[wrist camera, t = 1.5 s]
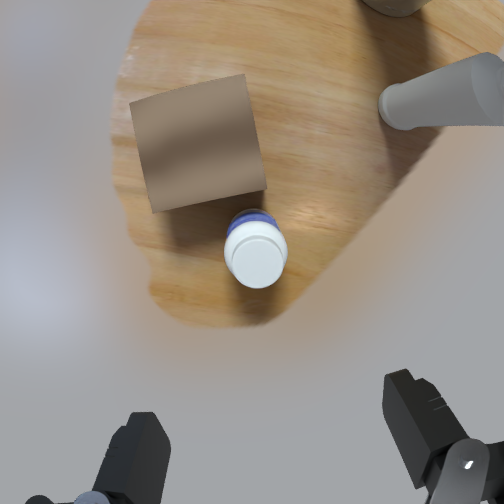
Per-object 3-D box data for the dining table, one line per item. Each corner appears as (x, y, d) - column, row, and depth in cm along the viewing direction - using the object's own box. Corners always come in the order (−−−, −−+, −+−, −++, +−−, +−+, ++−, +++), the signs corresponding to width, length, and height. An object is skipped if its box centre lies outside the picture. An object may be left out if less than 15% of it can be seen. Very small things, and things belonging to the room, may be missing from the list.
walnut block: (149, 111, 29) (129, 103, 24) (244, 88, 29) (244, 73, 23) (168, 202, 32) (152, 213, 27) (263, 182, 32) (267, 189, 26)
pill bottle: (218, 223, 33) (207, 251, 24) (264, 198, 32) (271, 216, 23) (243, 266, 35) (243, 308, 25) (288, 243, 34) (304, 277, 25)
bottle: (424, 117, 30) (616, 110, 6) (393, 139, 30) (596, 149, 7) (399, 78, 28) (582, 22, 4) (367, 99, 29) (559, 42, 5)
